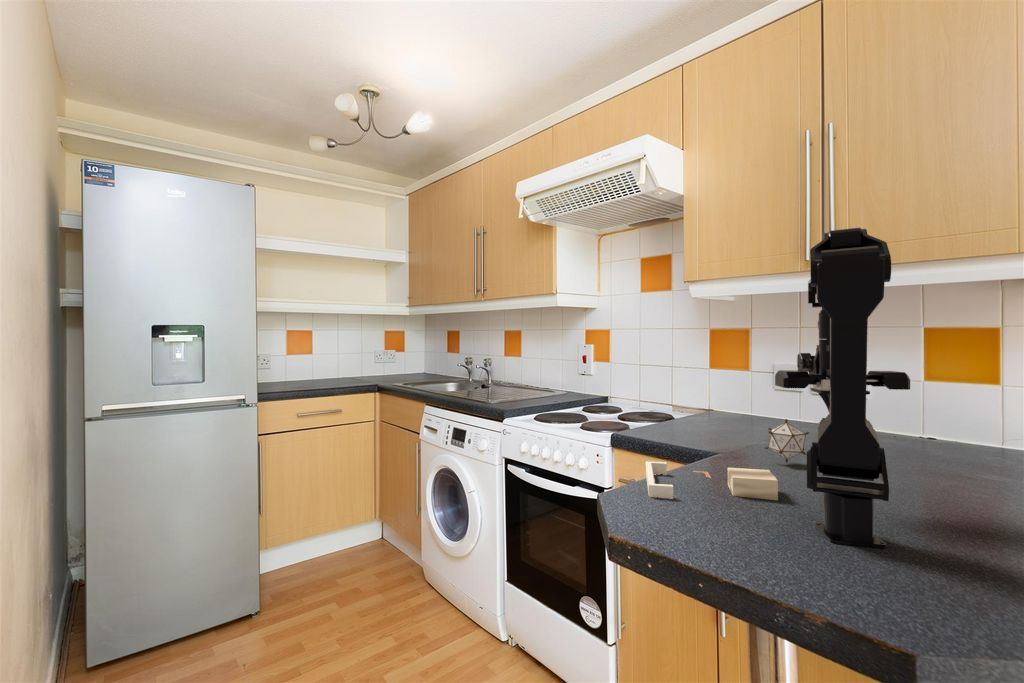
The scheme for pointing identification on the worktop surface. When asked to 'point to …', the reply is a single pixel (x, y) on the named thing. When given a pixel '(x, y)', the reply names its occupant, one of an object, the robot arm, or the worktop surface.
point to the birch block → (752, 483)
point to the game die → (786, 440)
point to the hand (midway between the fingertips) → (839, 429)
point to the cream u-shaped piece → (653, 488)
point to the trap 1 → (705, 473)
